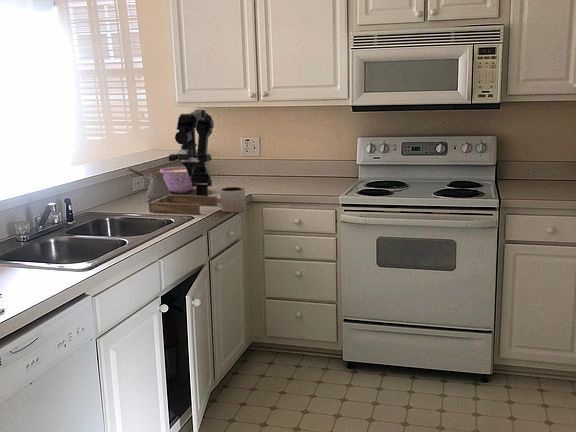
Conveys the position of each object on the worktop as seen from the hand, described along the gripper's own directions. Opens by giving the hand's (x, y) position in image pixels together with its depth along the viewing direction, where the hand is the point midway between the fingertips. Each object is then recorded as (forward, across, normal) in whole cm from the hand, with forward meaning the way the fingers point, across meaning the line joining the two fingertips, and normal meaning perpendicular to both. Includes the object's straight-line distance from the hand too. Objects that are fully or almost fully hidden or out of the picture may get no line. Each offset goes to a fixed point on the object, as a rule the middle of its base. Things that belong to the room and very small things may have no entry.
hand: (190, 176), depth 286 cm
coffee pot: (+13, -26, +8) cm, 30 cm away
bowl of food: (+13, -21, +32) cm, 40 cm away
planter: (+13, +23, -8) cm, 28 cm away
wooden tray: (+13, 0, -8) cm, 15 cm away
